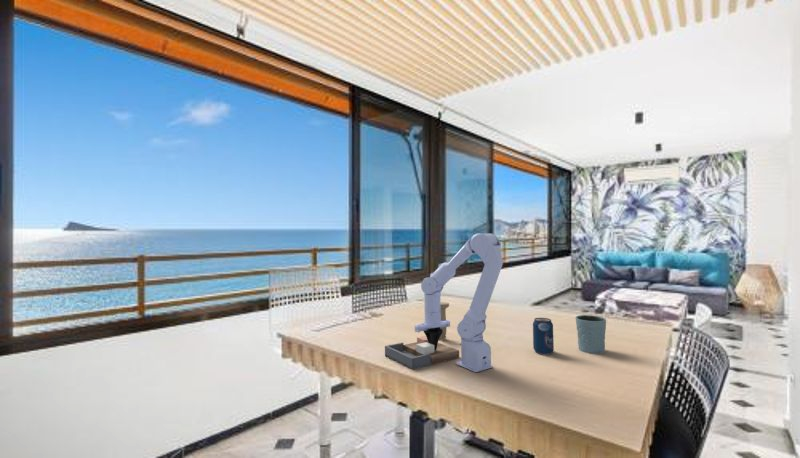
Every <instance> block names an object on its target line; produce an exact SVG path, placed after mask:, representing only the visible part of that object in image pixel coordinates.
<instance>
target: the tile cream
mask: <svg viewBox="0 0 800 458" xmlns="http://www.w3.org/2000/svg"><path fill="white" fill-rule="evenodd" d="M416 352H419V353H421V354H423V355H425V354H430V353H434V345H433V344H430V343H427V342H425V343H421V344H416Z"/></svg>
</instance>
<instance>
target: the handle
mask: <svg viewBox="0 0 800 458" xmlns="http://www.w3.org/2000/svg"><path fill="white" fill-rule="evenodd" d="M440 303H441V321H446V320H447V315H446V314H447V313H446V309H447V308H449V307H450V303H449V302H446V301H445V302H444V301H440ZM447 328H448V327H442V328H440V329H442V334H441V336H440V338H439V341H445V340H446V339H447Z"/></svg>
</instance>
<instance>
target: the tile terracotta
mask: <svg viewBox="0 0 800 458" xmlns="http://www.w3.org/2000/svg"><path fill="white" fill-rule="evenodd" d="M416 342H417V344H421V343H425V342H427V343H429V342H428V339H427V337H426V335H423V336H418V337H416Z"/></svg>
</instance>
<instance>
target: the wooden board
mask: <svg viewBox="0 0 800 458" xmlns="http://www.w3.org/2000/svg"><path fill="white" fill-rule="evenodd" d="M416 344H417V341H416V342H411V343H406V344H404V351H406V352H409V353H411V354H413V355H415V356H421V355H423V354H421V353H419V352H416ZM430 356H431V363H432V365H435V364H439V363H443V362H447V361H451V360H454V359H459V358H460V349H457V348H454V347H451V346H449V345H446V344H444V343H440V342H438V344H437V349H436V350H434V353H430Z"/></svg>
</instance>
